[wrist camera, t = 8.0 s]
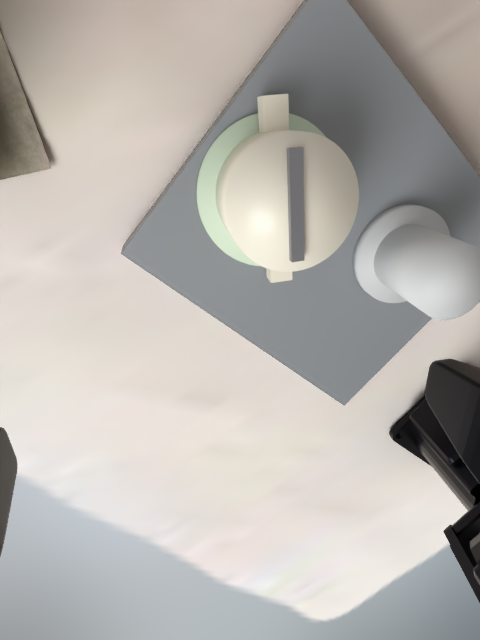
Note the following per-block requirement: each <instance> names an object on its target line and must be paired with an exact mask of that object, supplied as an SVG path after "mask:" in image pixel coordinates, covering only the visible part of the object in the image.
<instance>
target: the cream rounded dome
mask: <svg viewBox="0 0 480 640" xmlns="http://www.w3.org/2000/svg"><path fill="white" fill-rule="evenodd" d="M257 102H258V121H259V133H256V134H254V135H252V136H250V137H248V138H246V139H245V140H243V141H242V142H240V143H239V144H238V145H237V146H236V147H235V148H234V149H233V150H232V151H231V152H230V153H229V155H228V156H227V158H226V159H225V161H224V163H223V165H222V167H221V169H220V172H219V175H218V178H217V183H216V192H215V193H216V205H217V210H218V213H219V216H220V218H221V221H222V223H223V224H224V226H225V228H226V229H227V231H228V232H229V234H230V235H231V236H232V238H233V239H234V241H235V242H236V244H237V245H238V246H239V248H240V249H241V250H242V251H243V253H244V254H245V255H246V256H247V257H248V258H250V259H251V260H252V261H254V262H255V263H257V264H258V265H260V266H262V267H264V268H266V274H267V278H268V280H269V281H270V282H271V283H275V282H282V281H289V280H292V272H294V271H300V270H304V269H307V268H310V267H313V266H315V265H317V264H319V263H321V262H322V261H324V260H325V259H327V258H328V257H329V256H331V255H332V254H333V253H334V252H335V251H336V250H337V249H338V248H339V247H340V246H341V244H342V243H343V242H344V241H345V239H346V237H347V236H348V234H349V232H350V230H351V228H352V226H353V224H354V221H355V218H356V215H357V210H358V204H359V186H358V180H357V176H356V172H355V170H354V167H353V165H352V163H351V161H350V160H349V158H348V156H347V155H346V154H345V153H344V151H343V150H342V149H341V148H340V147H339V146H338V145H337V144H335V143H334V142H332V141H331V140H330V139H328V138H326V137H324V136H322V135H319V134H316V133H312V132H305V131H290V130H289V100H288V94H278V95H266V96H259V97H257Z"/></svg>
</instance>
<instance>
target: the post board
mask: <svg viewBox="0 0 480 640" xmlns="http://www.w3.org/2000/svg"><path fill="white" fill-rule="evenodd" d="M278 94H288V100H289V130H290V131H305V132H312V133H316V134H319V135H322V136H324V137H326V138H328V139H330V140H331V141H332V142H334V143H335V144H337V145H338V146H339V147H340V148H341V149H342V150H343V151H344V153H345V154H346V155H347V156H348V158H349V160H350V161H351V163H352V165H353V167H354V170H355V172H356V176H357V180H358V186H359V204H358V210H357V215H356V218H355V221H354V224H353V226H352V228H351V230H350V232H349V234H348V236H347V237H346V239H345V241H344V242H343V243H342V244H341V246H340V247H339V248H338V249H337V250H336V251H335V252H334V253H333V254H332V255H331V256H329V257H328V258H327V259H325V260H324V261H322V262H321V263H319V264H317V265H315V266H313V267H310V268H307V269H304V270H300V271H294V272H292V280H289V281H282V282H275V283H271V282H270V281H269V280H268V278H267V274H266V268H264V267H262V266H260V265H258V264H257V263H255V262H254V261H252V260H251V259H250V258H248V257H247V256H246V255H245V254H244V253H243V251H242V250H241V249H240V248H239V246H238V245H237V244H236V242H235V241H234V239H233V238H232V236H231V235H230V234H229V232H228V231H227V229H226V228H225V226H224V224H223V223H222V221H221V218H220V216H219V213H218V210H217V205H216V193H215V192H216V183H217V178H218V175H219V172H220V169H221V167H222V165H223V163H224V161H225V159H226V158H227V156H228V155H229V153H230V152H231V151H232V150H233V149H234V148H235V147H236V146H237V145H238V144H239V143H240V142H242V141H243V140H245V139H246V138H248V137H250V136H252V135H254V134H256V133H259V121H258V102H257V97H259V96H266V95H278ZM121 254H122V255H124V256H125V257H127V258H128V259H130V260H131V261H132V262H134V263H135V264H137V265H138V266H140V267H141V268H143V269H144V270H146V271H147V272H149V273H150V274H152V275H153V276H155V277H156V278H157V279H159V280H160V281H162V282H163V283H165V284H166V285H168V286H169V287H171V288H172V289H174V290H175V291H177V292H178V293H180V294H181V295H182V296H184V297H185V298H187V299H188V300H190V301H191V302H193V303H194V304H196V305H197V306H199V307H200V308H202V309H203V310H204V311H206V312H207V313H209V314H210V315H212V316H213V317H215V318H216V319H218V320H219V321H221V322H222V323H224V324H225V325H227V326H228V327H229V328H231V329H232V330H234V331H235V332H237V333H238V334H240V335H241V336H243V337H244V338H246V339H247V340H249V341H250V342H252V343H253V344H254V345H256V346H257V347H259V348H260V349H262V350H263V351H265V352H266V353H268V354H269V355H271V356H272V357H274V358H275V359H277V360H278V361H279V362H281V363H282V364H284V365H285V366H287V367H288V368H290V369H291V370H293V371H294V372H296V373H297V374H299V375H300V376H302V377H303V378H304V379H306V380H307V381H309V382H310V383H312V384H313V385H315V386H316V387H318V388H319V389H321V390H322V391H324V392H325V393H326V394H328V395H329V396H331V397H332V398H334V399H335V400H337V401H338V402H340V403H341V404H343V405H345V404H346V403H347V402H348V401H349V400H350V399H351V398H352V397H353V396H354V395H355V394H356V393H357V392H358V391H359V390H360V389H361V388H362V387H363V386H364V385H365V384H366V383H367V382H368V381H369V380H370V379H371V378H372V377H373V376H374V375H375V374H376V373H377V372H378V371H379V370H380V369H381V368H382V367H383V366H384V365H385V364H386V363H387V362H388V361H389V360H390V359H391V358H392V357H393V356H394V355H395V354H396V353H397V352H398V351H399V350H400V349H401V348H402V347H403V346H404V345H405V344H406V343H407V342H408V341H409V340H410V339H411V338H412V337H413V336H414V335H415V334H416V333H417V332H418V331H419V330H420V329H421V328H423V327H424V326H425V325H426V324H427V323H428V322H429V321H430V320H431V319H432V318H434V319H437V320H450V319H454V318H457V317H460V316H462V315H464V314H465V313H467V312H469V311H470V310H471V309H472V308H474V307H475V306H476V305H477V304H478V303H479V302H480V176H479V175H478V173H477V172H476V171H475V169H474V168H473V167H472V165H471V164H470V163H469V161H468V160H467V159H466V157H465V156H464V155H463V153H462V152H461V151H460V149H459V148H458V147H457V145H456V144H455V143H454V141H453V140H452V139H451V137H450V136H449V135H448V133H447V132H446V131H445V130H444V128H443V127H442V126H441V124H440V123H439V122H438V120H437V119H436V118H435V116H434V115H433V114H432V112H431V111H430V110H429V108H428V107H427V106H426V104H425V103H424V102H423V100H422V99H421V98H420V96H419V95H418V94H417V92H416V91H415V90H414V88H413V87H412V86H411V84H410V83H409V82H408V80H407V79H406V78H405V77H404V75H403V74H402V73H401V71H400V70H399V69H398V67H397V66H396V65H395V63H394V62H393V61H392V59H391V58H390V57H389V55H388V54H387V53H386V51H385V50H384V49H383V47H382V46H381V45H380V43H379V42H378V41H377V39H376V38H375V37H374V35H373V34H372V33H371V31H370V30H369V29H368V27H367V26H366V25H365V23H364V22H363V21H362V20H361V18H360V17H359V16H358V14H357V13H356V12H355V10H354V9H353V8H352V6H351V5H350V4H349V2H348V1H347V0H305V1H304V2H303V3H302V5H301V6H300V7H299V9H298V10H297V11H296V13H295V14H294V15H293V17H292V18H291V20H290V21H289V22H288V24H287V25H286V26H285V28H284V29H283V30H282V32H281V33H280V34H279V36H278V37H277V38H276V40H275V41H274V42H273V44H272V45H271V47H270V48H269V49H268V51H267V52H266V53H265V55H264V56H263V57H262V59H261V60H260V61H259V63H258V64H257V65H256V67H255V68H254V70H253V71H252V72H251V74H250V75H249V76H248V78H247V79H246V80H245V82H244V83H243V84H242V86H241V87H240V88H239V90H238V91H237V93H236V94H235V95H234V97H233V98H232V99H231V101H230V102H229V103H228V105H227V106H226V107H225V109H224V110H223V111H222V113H221V114H220V116H219V117H218V118H217V120H216V121H215V122H214V124H213V125H212V126H211V128H210V129H209V130H208V132H207V133H206V134H205V136H204V137H203V139H202V140H201V141H200V143H199V144H198V145H197V147H196V148H195V149H194V151H193V152H192V153H191V155H190V156H189V157H188V159H187V160H186V161H185V163H184V164H183V166H182V167H181V168H180V170H179V171H178V172H177V174H176V175H175V176H174V178H173V179H172V180H171V182H170V183H169V184H168V186H167V187H166V189H165V190H164V191H163V193H162V194H161V195H160V197H159V198H158V199H157V201H156V202H155V203H154V205H153V206H152V207H151V209H150V210H149V212H148V213H147V214H146V216H145V217H144V218H143V220H142V221H141V222H140V224H139V225H138V226H137V228H136V229H135V230H134V232H133V233H132V235H131V236H130V237H129V239H128V240H127V241H126V243H125V244H124V245H123V248H122V252H121Z"/></svg>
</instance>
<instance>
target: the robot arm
mask: <svg viewBox="0 0 480 640" xmlns="http://www.w3.org/2000/svg"><path fill="white" fill-rule="evenodd" d="M389 435H390V436H391V438H392V439H393V440H394V441H395V442H396V443H398V444H399V445H401V446H402V447H404V448H405V449H407V450H408V451H410V452H411V453H413V454H414V455H416V456H417V457H419V458H420V459H422V460H423V461H424V462H426V463H427V464H429V465H430V466H432V467H433V468H434V470H435V471H436V472H437V473H438V474H439V476H440V477H441V478H442V479H443V481H444V482H445V483H446V484H447V485H448V487H449V488H450V489H451V490H452V492H453V493H454V494H455V495H456V497H457V498H458V499H459V500H460V501H461V503H462V504H463V505H464V506H465V508H466V509H467V510H468V512H467V513H466V514H464V515H463V516H462V517H461V518H460V519H459V520H458V521H457V522H456V523H454V524H453V525H449V526H448V527H447V528H446V529H445V530H444V533H445V535H446V537H447V539H448V541H449V543H450V547H451V549H452V551H453V553H454V555H455V557H456V559H457V561H458V562H459V564H460V566H461V568H462V570H463V572H464V574H465V576H466V578H467V579H468V581H469V583H470V585H471V587H472V589H473V591H474V593H475V595H476V596H477V598H478V600H479V602H480V368H477V367H474V366H471V365H468V364H465V363H462V362H459V361H456V360H453V359H444V360H438V361H434V362H432V364H431V365H430V368H429V373H428V378H427V383H426V388H425V398H424V399H423V400H421V401H420V402H419V403H418V404H417V405H416V406H415V407H414V408H413V409H412V410H411V411H410V412H409V413H408V414H407V415H406V416H405V417H403V418H402V419H401V420H400V421H399V422H398V423H397V424H396V425H395V426H394V427H393V428H392V429H391V430H390V432H389ZM16 474H17V459H16V456H15V453H14V451H13V448H12V445H11V443H10V440H9V437H8V435H7V432H6V431H5V429H4V428H2V427H0V556H1V552H2V548H3V544H4V539H5V534H6V528H7V523H8V518H9V512H10V507H11V501H12V495H13V490H14V485H15V479H16Z"/></svg>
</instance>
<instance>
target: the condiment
mask: <svg viewBox="0 0 480 640" xmlns="http://www.w3.org/2000/svg"><path fill="white" fill-rule="evenodd" d="M46 169H51V165H50V163H49V160H48V157H47V154H46V152H45V149H44V147H43V143H42V140H41V137H40V135H39V132H38V130H37V127H36V124H35V122H34V119H33V116H32V114H31V111H30V109H29V107H28V103H27V100H26V97H25V94H24V92H23V89H22V87H21V85H20V82H19V79H18V76H17V74H16V71H15V69H14V66H13V63H12V61H11V58H10V56H9V53H8V49H7V47H6V43H5V41H4V39H3V37H2V35H1V32H0V180H2V179H6V178H10V177H15V176H19V175H24V174H29V173H33V172H37V171H42V170H46Z"/></svg>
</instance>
